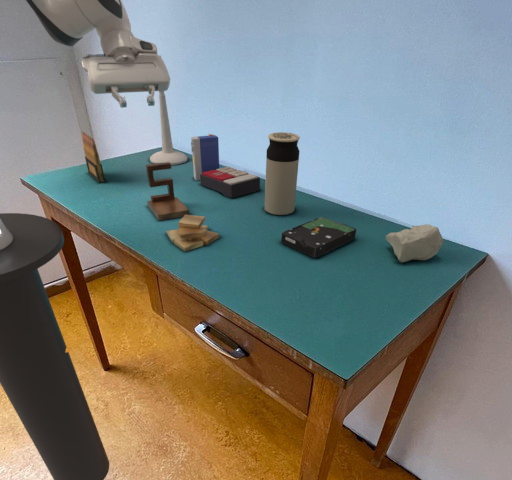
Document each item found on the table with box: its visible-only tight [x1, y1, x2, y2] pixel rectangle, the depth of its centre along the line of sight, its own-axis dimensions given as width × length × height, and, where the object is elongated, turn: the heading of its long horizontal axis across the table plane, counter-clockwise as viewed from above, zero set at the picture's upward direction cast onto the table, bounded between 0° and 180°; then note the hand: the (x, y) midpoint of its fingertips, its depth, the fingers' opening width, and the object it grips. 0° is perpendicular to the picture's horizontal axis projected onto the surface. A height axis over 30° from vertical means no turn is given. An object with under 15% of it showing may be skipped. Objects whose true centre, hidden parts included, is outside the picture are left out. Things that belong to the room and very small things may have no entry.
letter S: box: [145, 162, 190, 222], centre depth 100 cm, size 8×10×10 cm
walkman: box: [190, 133, 220, 181], centre depth 120 cm, size 8×3×12 cm, turn 115°
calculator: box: [199, 166, 261, 199], centre depth 117 cm, size 11×4×15 cm
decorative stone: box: [385, 223, 444, 263], centre depth 85 cm, size 11×9×10 cm
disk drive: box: [280, 216, 357, 259], centre depth 91 cm, size 10×3×15 cm
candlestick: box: [149, 53, 188, 166], centre depth 128 cm, size 13×13×30 cm
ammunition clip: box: [81, 131, 106, 184], centre depth 118 cm, size 11×2×12 cm, turn 35°
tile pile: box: [166, 214, 220, 252], centre depth 90 cm, size 10×11×4 cm
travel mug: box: [264, 131, 300, 216], centre depth 100 cm, size 8×8×18 cm
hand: (137, 105), depth 101 cm, fingers open, 6 cm apart
